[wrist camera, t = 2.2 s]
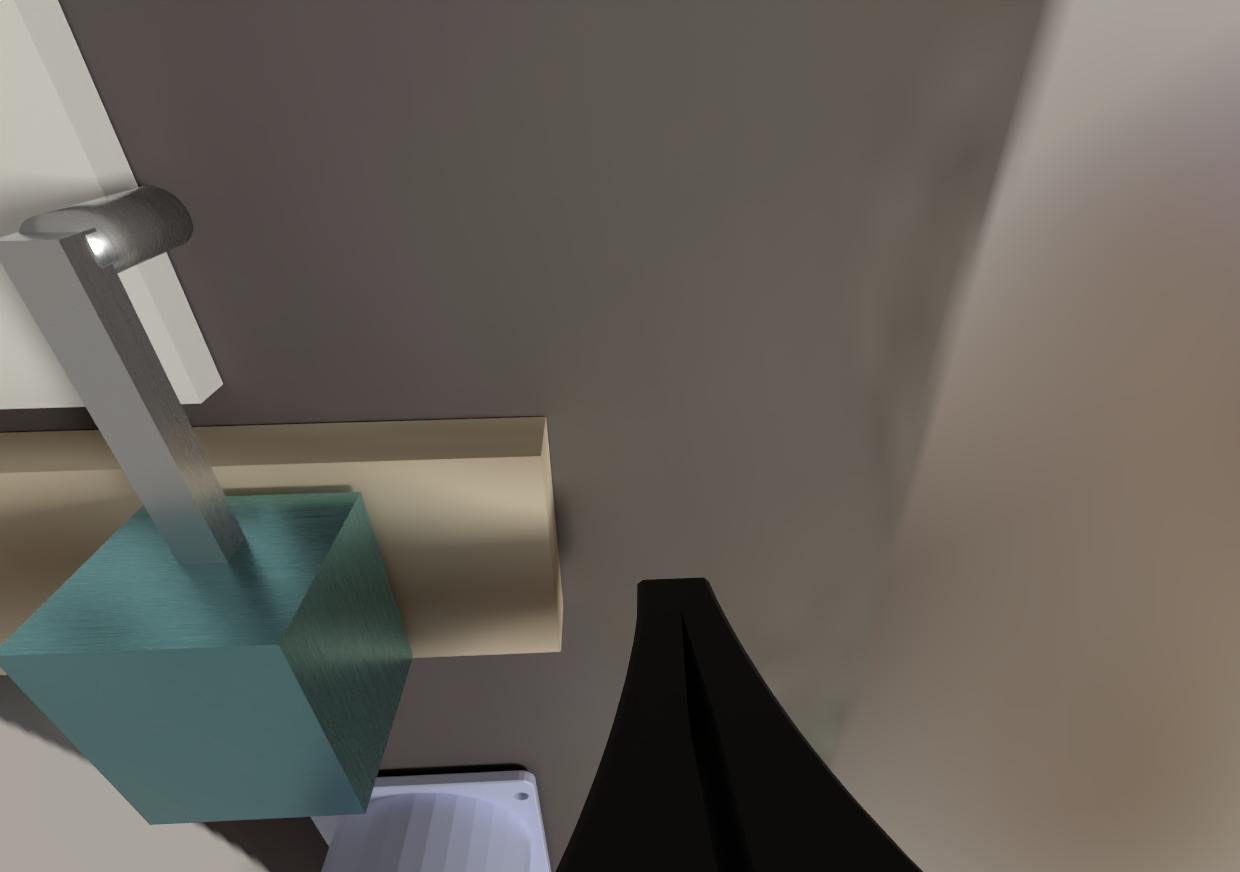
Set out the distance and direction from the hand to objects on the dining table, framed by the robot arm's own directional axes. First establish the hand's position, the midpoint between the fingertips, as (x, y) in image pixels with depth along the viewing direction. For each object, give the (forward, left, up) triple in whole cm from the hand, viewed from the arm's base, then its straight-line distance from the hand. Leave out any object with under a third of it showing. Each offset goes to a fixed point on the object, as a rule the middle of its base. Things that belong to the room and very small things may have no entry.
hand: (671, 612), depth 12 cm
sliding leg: (+3, +8, -2) cm, 9 cm away
